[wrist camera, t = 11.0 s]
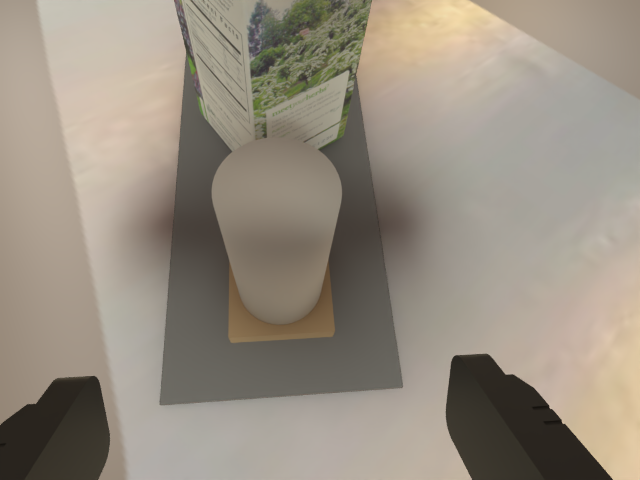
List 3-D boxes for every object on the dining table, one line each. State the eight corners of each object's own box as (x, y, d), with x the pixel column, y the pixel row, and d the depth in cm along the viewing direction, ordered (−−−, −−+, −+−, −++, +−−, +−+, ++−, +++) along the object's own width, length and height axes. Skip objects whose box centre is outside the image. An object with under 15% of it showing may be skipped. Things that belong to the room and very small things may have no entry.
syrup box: (285, 74, 26) (285, -311, 13) (347, 140, 24) (422, -229, 11) (200, 116, 24) (98, -282, 11) (260, 191, 22) (226, -178, 9)
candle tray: (351, 53, 27) (379, -114, 19) (401, 388, 19) (489, 339, 11) (187, 52, 26) (144, -124, 18) (161, 405, 18) (59, 367, 10)
